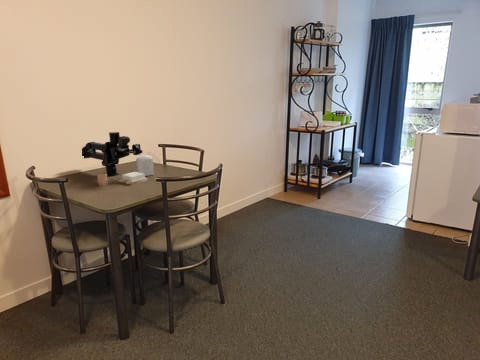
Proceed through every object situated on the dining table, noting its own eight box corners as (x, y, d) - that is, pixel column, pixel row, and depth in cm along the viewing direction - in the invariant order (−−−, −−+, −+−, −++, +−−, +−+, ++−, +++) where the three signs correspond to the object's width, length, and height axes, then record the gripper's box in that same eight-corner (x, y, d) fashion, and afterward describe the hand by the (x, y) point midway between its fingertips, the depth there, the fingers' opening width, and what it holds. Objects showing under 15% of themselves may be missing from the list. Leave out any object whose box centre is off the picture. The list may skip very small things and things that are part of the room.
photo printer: (152, 173, 226) (151, 154, 223) (155, 175, 223) (153, 155, 219) (136, 176, 221) (134, 156, 217) (138, 177, 217) (137, 157, 214)
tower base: (119, 183, 208) (119, 179, 207) (135, 179, 216) (135, 175, 216) (132, 186, 202) (131, 182, 201) (147, 182, 210) (147, 177, 209)
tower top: (122, 178, 207) (121, 174, 207) (134, 175, 214) (134, 171, 214) (132, 181, 202) (131, 177, 202) (144, 178, 209) (144, 173, 209)
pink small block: (96, 184, 202) (95, 174, 201) (104, 182, 206) (103, 172, 205) (101, 186, 199) (100, 175, 198) (109, 184, 203) (108, 173, 202)
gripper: (103, 138, 204) (120, 141, 196) (130, 134, 219) (147, 136, 210) (105, 157, 207) (122, 161, 199) (132, 152, 222) (149, 155, 213)
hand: (135, 153), depth 205 cm, fingers open, 9 cm apart
